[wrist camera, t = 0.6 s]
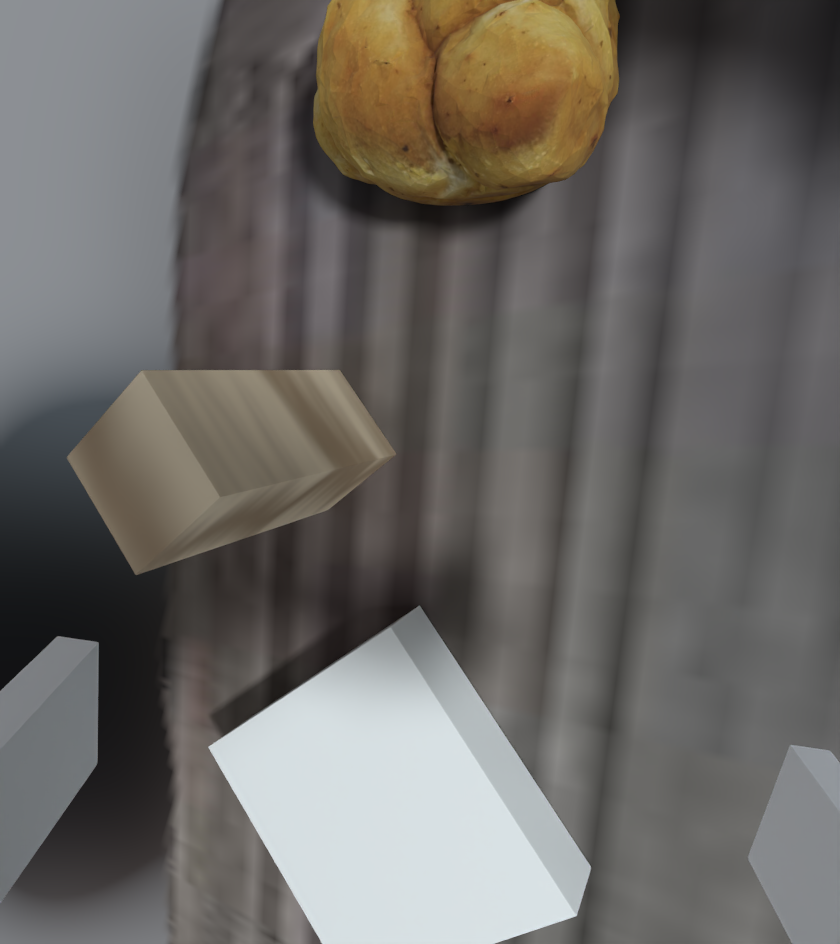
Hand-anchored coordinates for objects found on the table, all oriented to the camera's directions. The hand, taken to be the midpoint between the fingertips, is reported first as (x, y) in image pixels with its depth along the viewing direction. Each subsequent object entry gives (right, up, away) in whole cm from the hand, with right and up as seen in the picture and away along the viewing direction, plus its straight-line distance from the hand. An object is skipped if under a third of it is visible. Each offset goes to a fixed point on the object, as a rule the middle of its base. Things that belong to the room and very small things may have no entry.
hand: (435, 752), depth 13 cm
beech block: (-5, +7, +20) cm, 22 cm away
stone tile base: (-1, -11, +22) cm, 24 cm away
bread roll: (+2, +21, +15) cm, 26 cm away
